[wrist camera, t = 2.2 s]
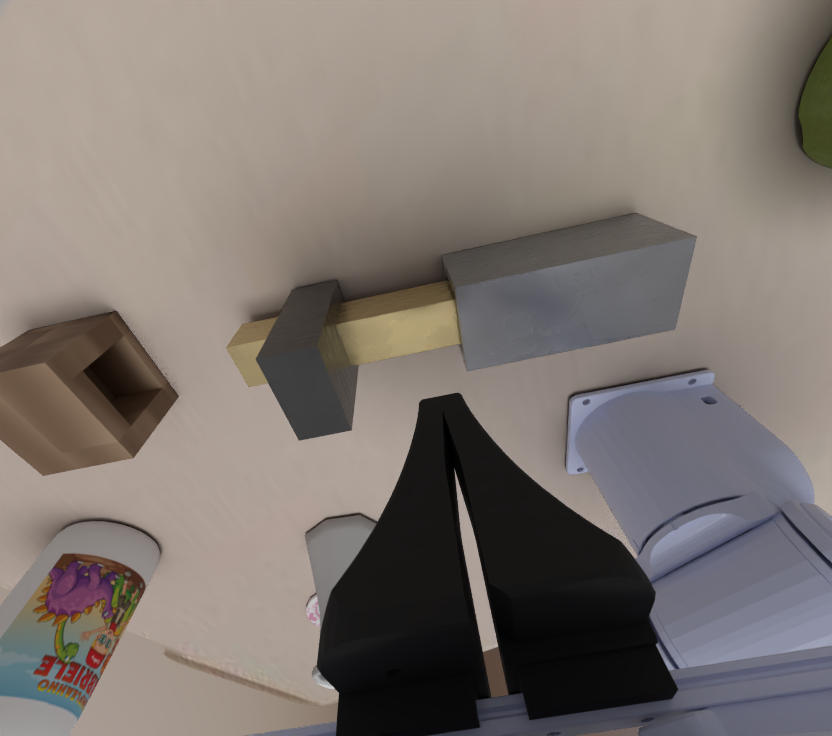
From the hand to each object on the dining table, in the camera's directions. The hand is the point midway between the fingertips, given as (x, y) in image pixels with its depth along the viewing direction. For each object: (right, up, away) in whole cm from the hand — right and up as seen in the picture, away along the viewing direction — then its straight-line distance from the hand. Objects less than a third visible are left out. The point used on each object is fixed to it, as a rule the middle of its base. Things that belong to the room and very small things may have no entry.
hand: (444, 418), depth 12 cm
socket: (-19, +2, +9) cm, 21 cm away
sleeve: (+6, +7, +8) cm, 12 cm away
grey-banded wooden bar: (0, +5, +8) cm, 10 cm away
